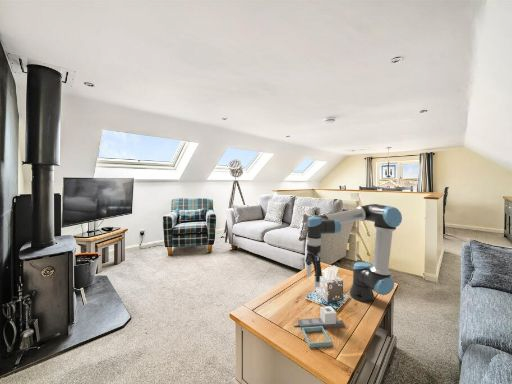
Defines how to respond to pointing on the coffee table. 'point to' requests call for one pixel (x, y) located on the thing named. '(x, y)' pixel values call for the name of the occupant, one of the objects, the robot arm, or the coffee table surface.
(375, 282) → the robot arm
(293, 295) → the coffee table surface
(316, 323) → the power strip
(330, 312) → the charger
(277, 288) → the coffee table surface
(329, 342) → the teal square frame
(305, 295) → the coffee table surface
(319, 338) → the coffee table surface
